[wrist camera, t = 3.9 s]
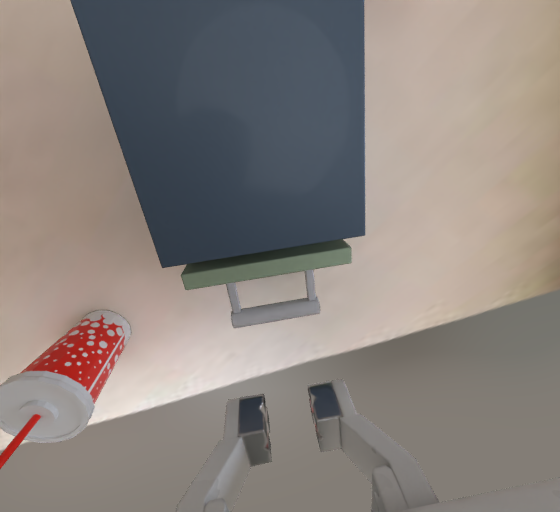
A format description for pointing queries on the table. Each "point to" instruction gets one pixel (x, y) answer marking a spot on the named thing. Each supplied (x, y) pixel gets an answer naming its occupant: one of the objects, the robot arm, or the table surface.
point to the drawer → (265, 267)
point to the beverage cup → (62, 382)
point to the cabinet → (236, 118)
